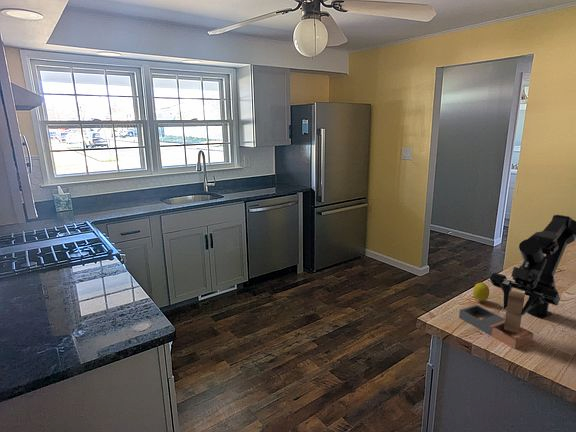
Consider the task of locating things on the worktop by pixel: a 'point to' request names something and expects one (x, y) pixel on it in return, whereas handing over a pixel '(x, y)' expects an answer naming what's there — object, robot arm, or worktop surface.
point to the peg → (514, 311)
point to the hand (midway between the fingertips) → (513, 311)
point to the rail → (495, 326)
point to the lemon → (481, 291)
